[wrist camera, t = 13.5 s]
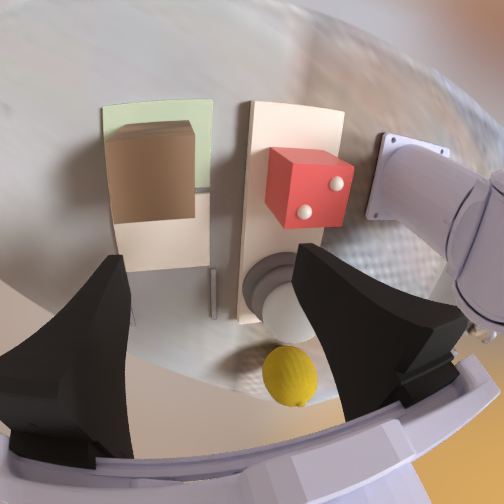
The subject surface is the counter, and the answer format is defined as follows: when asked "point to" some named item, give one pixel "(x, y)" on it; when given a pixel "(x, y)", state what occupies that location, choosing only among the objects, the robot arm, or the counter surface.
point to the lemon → (289, 376)
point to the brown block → (152, 171)
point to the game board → (198, 229)
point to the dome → (280, 307)
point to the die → (307, 187)
